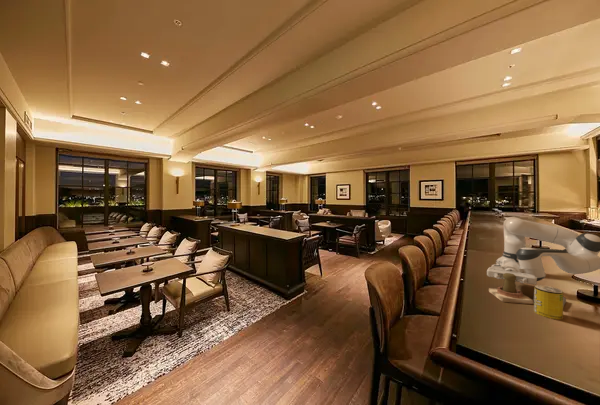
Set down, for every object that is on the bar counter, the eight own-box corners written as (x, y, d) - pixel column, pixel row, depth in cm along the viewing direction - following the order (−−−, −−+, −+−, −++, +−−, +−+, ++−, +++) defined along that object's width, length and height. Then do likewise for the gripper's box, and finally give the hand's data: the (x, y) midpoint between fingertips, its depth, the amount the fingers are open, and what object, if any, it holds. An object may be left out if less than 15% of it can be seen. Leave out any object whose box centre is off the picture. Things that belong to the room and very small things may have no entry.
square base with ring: (488, 291, 130) (488, 284, 130) (516, 293, 127) (516, 286, 127) (502, 301, 118) (502, 294, 118) (533, 304, 114) (533, 296, 114)
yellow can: (553, 311, 108) (553, 286, 107) (568, 321, 99) (568, 294, 99) (529, 308, 110) (529, 284, 110) (542, 317, 102) (542, 291, 102)
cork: (520, 296, 119) (520, 275, 119) (509, 296, 119) (509, 275, 119) (509, 291, 125) (509, 271, 125) (498, 291, 125) (499, 272, 125)
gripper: (537, 283, 124) (537, 291, 114) (488, 274, 138) (485, 280, 129) (537, 271, 124) (537, 278, 114) (488, 264, 138) (485, 269, 128)
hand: (509, 279), depth 121 cm, fingers open, 8 cm apart
